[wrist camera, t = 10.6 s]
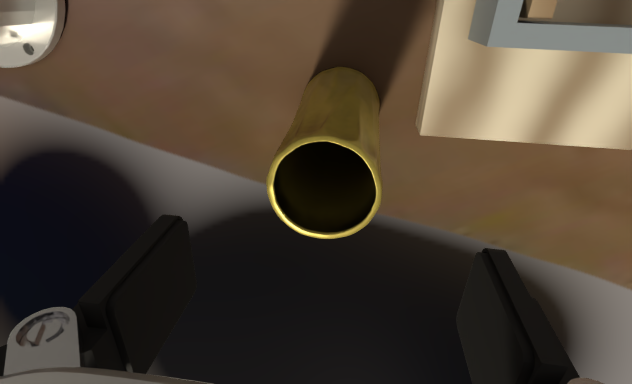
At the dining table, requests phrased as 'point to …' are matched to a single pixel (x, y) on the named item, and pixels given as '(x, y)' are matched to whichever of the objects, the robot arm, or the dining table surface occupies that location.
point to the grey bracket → (543, 31)
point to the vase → (330, 158)
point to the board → (527, 81)
